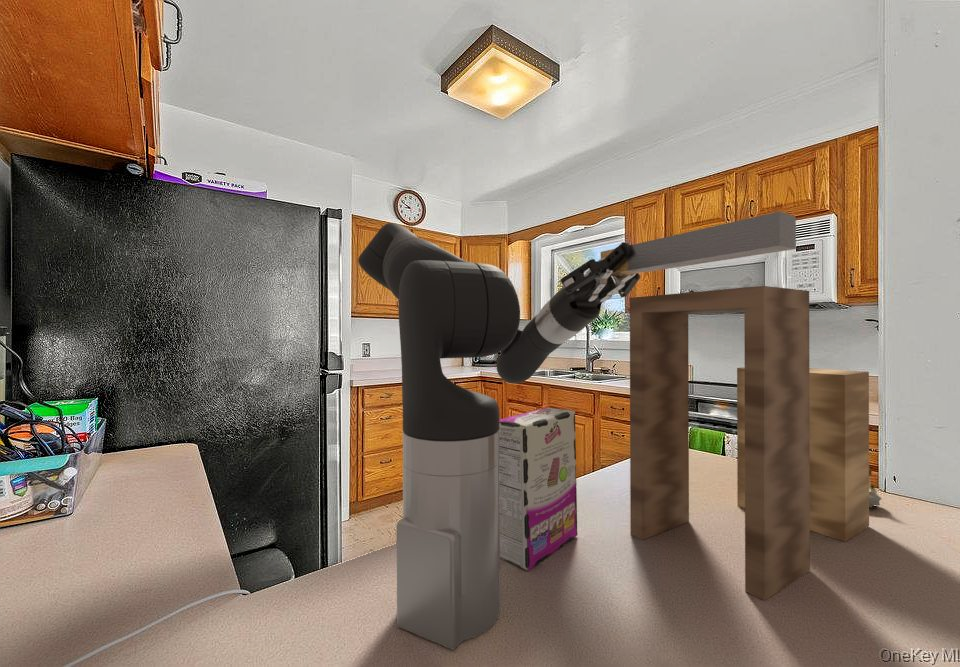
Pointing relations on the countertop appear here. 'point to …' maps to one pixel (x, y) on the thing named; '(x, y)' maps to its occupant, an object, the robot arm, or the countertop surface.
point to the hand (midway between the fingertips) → (638, 248)
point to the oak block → (829, 450)
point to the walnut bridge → (768, 423)
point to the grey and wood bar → (712, 244)
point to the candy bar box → (537, 485)
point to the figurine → (873, 494)
